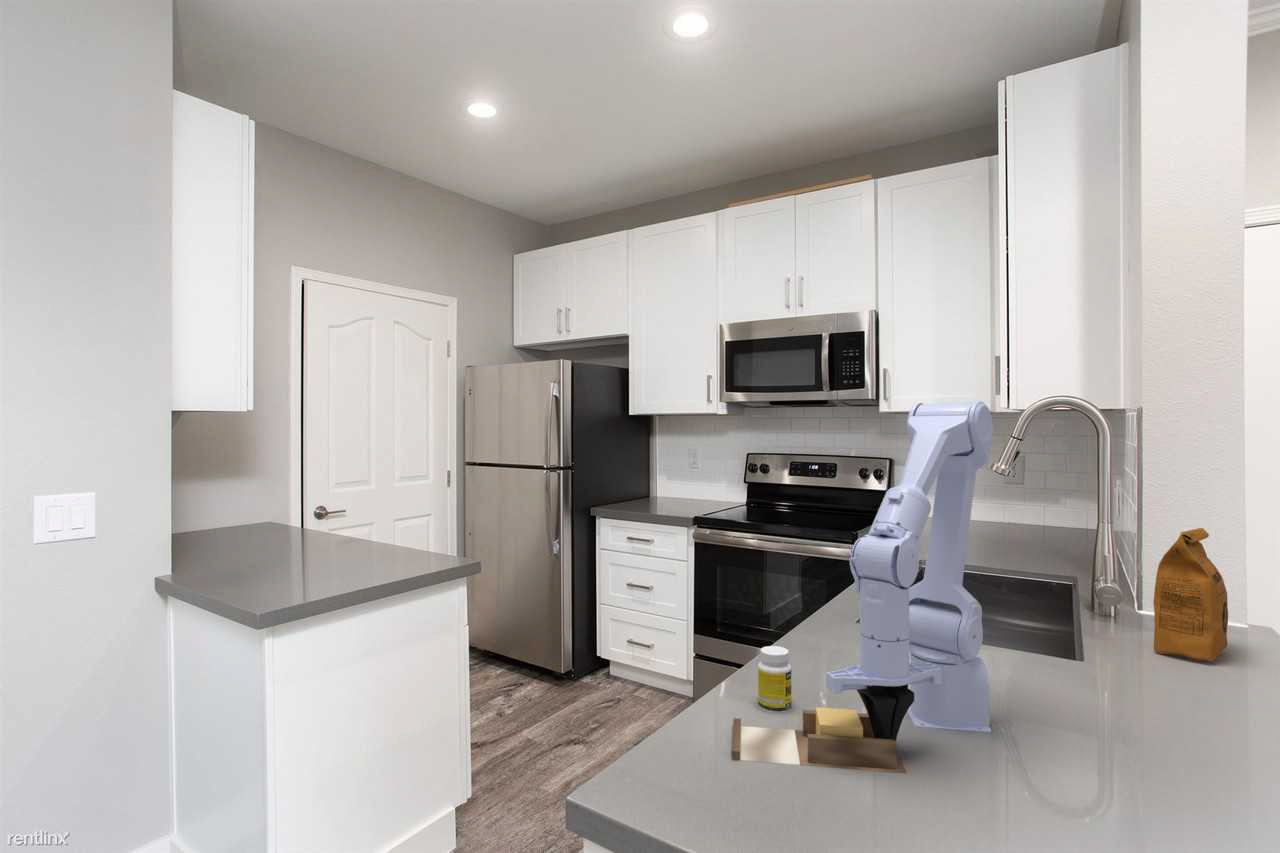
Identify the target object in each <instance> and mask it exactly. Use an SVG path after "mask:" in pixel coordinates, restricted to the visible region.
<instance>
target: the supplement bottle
mask: <svg viewBox="0 0 1280 853" xmlns="http://www.w3.org/2000/svg"><path fill="white" fill-rule="evenodd" d="M789 651H790V650H789V649H787V648H785V647H783V646H778V645H777V646H776V645H769V646H763V647H761V648H760V655H759V656H760V661H759V662H758V666H757V677H758V678H757V706H758V707H759V708H760V709H762V710H763V711H765V712H768V713H769V712H770V713H776V714H777V713H779V714H780V713H786V712H788V711H790V710H791V709H792V666H791V664H790V663H789V661H790V652H789Z"/></svg>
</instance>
